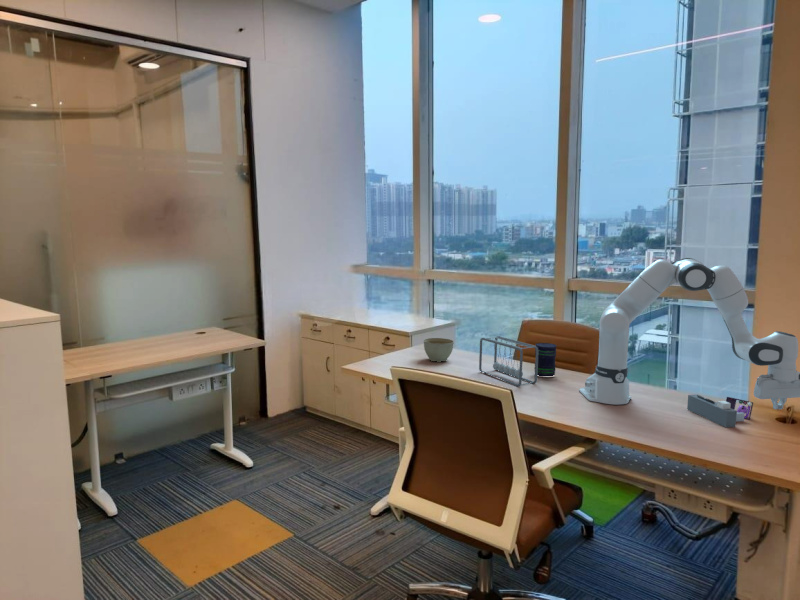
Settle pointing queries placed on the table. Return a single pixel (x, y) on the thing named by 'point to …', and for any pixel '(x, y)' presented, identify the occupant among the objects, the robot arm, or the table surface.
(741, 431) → the table surface
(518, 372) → the newton's cradle
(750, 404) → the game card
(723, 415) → the charging dock
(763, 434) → the table surface
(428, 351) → the planter bowl
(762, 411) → the table surface
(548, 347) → the storage jar
